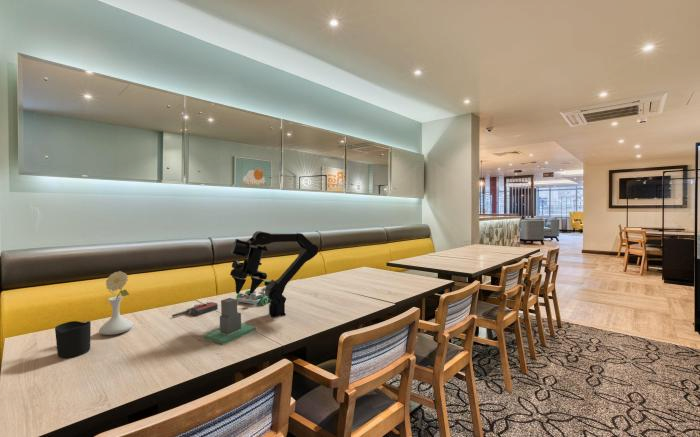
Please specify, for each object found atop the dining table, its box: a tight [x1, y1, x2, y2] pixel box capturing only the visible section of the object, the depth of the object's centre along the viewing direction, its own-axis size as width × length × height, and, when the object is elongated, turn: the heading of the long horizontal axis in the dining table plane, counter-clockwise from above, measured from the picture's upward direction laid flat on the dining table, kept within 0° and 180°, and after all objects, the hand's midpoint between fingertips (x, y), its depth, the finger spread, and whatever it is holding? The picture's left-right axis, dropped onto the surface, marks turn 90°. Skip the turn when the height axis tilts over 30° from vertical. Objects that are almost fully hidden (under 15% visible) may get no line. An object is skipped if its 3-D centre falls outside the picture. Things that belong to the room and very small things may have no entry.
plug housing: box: [219, 297, 242, 335], centre depth 130 cm, size 7×4×12 cm
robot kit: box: [235, 279, 271, 306], centre depth 178 cm, size 19×25×9 cm
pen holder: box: [54, 320, 92, 359], centre depth 114 cm, size 9×9×10 cm
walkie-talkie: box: [171, 301, 219, 318], centre depth 156 cm, size 9×4×20 cm
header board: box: [203, 322, 257, 345], centre depth 131 cm, size 16×11×5 cm
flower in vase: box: [98, 270, 134, 336], centre depth 132 cm, size 13×11×25 cm
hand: (244, 293), depth 145 cm, fingers open, 9 cm apart
